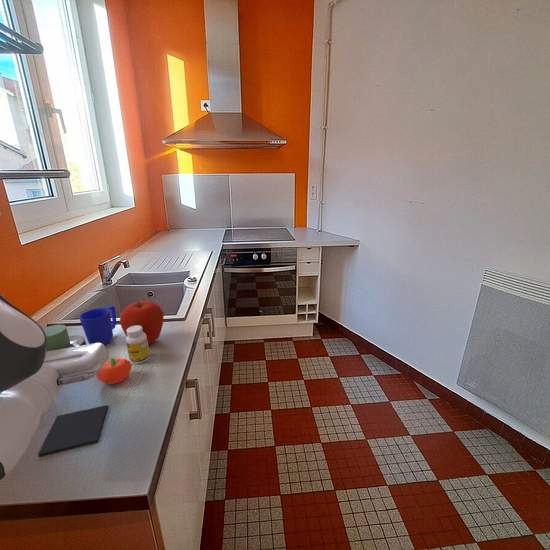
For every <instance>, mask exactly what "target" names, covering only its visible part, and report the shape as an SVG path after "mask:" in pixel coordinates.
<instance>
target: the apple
mask: <svg viewBox="0 0 550 550" xmlns="http://www.w3.org/2000/svg"><path fill="white" fill-rule="evenodd" d="M164 315H165V313H164V311H163V310H162V308H161V306H160V305H159V304H158V303H155V302H153V301H150V300H149V301H147V300H146V301H136V302H133V303H131V304H129V305H126V307H125V308H124V309H123V311H122V312H120V316H119V324H120V328H121V329H122V331H123V333H124V335H125V336H126V337H127V336H128V335H127V331H126V330H127V329H128V328H129V327H131V326H135V325H139V326H142V329H143V332H144V333H145V334H146V336H147V341H148V345H151V344H153V343H154V342H155V341H156V340H157V339H158V338H160V336H161V334H162V333H161V332H162V329H163V325H164V319H165V318H164V317H165V316H164Z"/></svg>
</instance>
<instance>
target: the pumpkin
mask: <svg viewBox="0 0 550 550" xmlns="http://www.w3.org/2000/svg"><path fill="white" fill-rule="evenodd" d="M132 367H133V363H131V362H130V359H129V360H128V359H127V358H120V357H119V358H110V359H109V360H106V362H105V364H104V365H103V367H102V368H101V370H100V372H99V373H98V374H97V375H96V378H97V380H98V381H100V383H103V384H107V385H113V384H118V383H121V382H123V381H124V380H125V379H126V378H127V377H129V375H130V373H131V371H132Z"/></svg>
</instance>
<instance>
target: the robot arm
mask: <svg viewBox="0 0 550 550" xmlns="http://www.w3.org/2000/svg"><path fill="white" fill-rule="evenodd" d="M68 347H69V348H64V349H58V350H52V351H47V338H46V334H45V332H44V330H43V328H42V326H41V325H40V324H39V323H38V322H37V321H36V320H34V319H33V318H32V317H31V316H30V315H28V314H26V312H24V311H23V310H21V309H20V308H18V307H16V306H15V305H14V304H13V303H11V302H10V301H9V300H8V299H6V297H5V296H3V295H2V294H1V293H0V482H1V481H2V480H3V479H5V478H6V477H7V476H8V475H9V474H10V473H11V472H12V471H13V470H14V468H15V467H16V466H17V464H18V463H19V461H20V460H21V459H22V457H23V456H24V455H25V453H26V452H27V450H28V448H29V447H30V445H31V444H32V442H33V440H34V438H35V437H36V435H37V434H38V432H39V429H40V426H41V421H42V420H43V419H44V418H45V417H46V415H47V414H49V413H48V412H49V411H50V409H51V408H52V407H53V404H54V403H55V400H56V398H57V396H58V395H59V393H60V391H61V388H62V386H65V385H70V384H76V383H80V382H85V381H89V380H91V379H93V378H95V377H97V374H98V373H99V372H100V370H101V368H102V367H103V365H104V364H105V362H107V361H108V353H107V348H106V346H105V345H104V344H102V343H93V344H89V343H86V345H82V346H80V343H79V340H73V341H70V342H69V343H68Z"/></svg>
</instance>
